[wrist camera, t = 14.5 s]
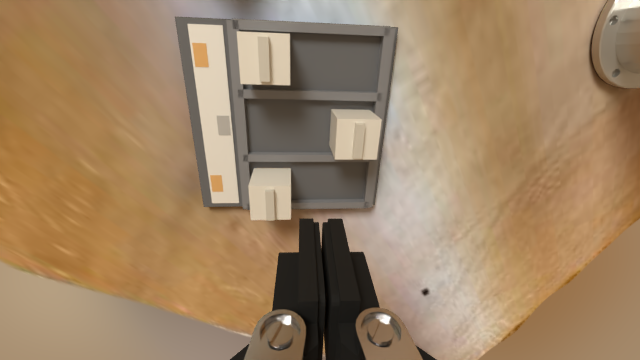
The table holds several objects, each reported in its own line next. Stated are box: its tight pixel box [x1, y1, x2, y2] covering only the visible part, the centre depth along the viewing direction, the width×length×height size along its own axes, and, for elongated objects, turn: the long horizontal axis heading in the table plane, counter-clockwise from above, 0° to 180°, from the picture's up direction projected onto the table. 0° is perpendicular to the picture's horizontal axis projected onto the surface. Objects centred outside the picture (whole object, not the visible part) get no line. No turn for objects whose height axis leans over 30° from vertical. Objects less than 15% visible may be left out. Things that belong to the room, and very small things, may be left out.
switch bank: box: [175, 17, 398, 210], centre depth 30 cm, size 20×19×2 cm
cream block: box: [248, 168, 291, 221], centre depth 30 cm, size 4×4×5 cm
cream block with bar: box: [237, 31, 290, 85], centre depth 24 cm, size 4×4×5 cm
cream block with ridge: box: [329, 109, 382, 160], centre depth 28 cm, size 4×4×5 cm
